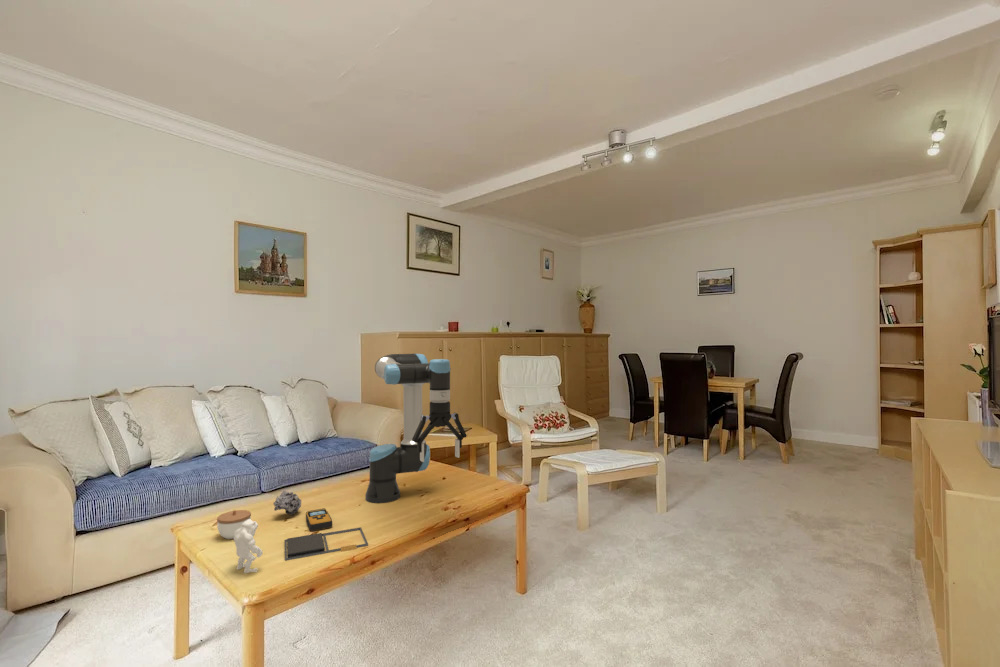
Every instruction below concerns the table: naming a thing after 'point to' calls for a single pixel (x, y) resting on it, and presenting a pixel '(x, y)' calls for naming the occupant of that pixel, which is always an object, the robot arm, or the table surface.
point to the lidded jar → (231, 522)
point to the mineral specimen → (288, 502)
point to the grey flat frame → (315, 545)
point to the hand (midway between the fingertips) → (439, 459)
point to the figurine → (246, 545)
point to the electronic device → (318, 519)
